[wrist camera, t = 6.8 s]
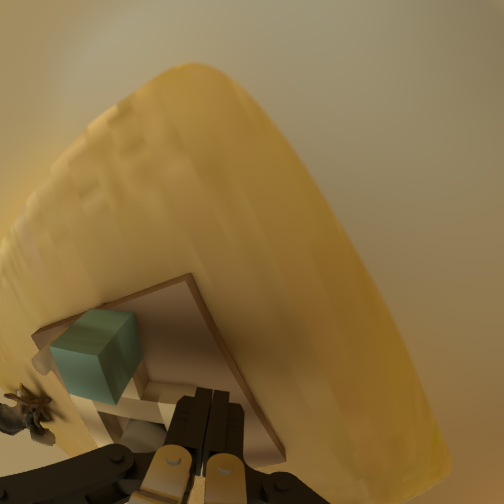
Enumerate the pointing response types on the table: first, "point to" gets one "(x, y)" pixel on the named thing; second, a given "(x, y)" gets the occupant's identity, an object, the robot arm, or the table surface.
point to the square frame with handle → (111, 375)
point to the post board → (182, 363)
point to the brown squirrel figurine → (26, 417)
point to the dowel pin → (46, 357)
